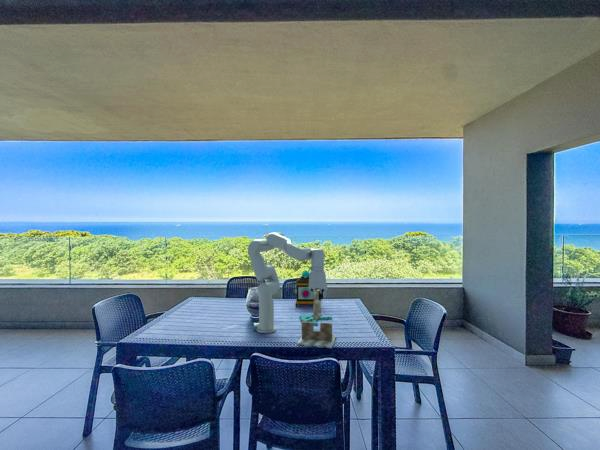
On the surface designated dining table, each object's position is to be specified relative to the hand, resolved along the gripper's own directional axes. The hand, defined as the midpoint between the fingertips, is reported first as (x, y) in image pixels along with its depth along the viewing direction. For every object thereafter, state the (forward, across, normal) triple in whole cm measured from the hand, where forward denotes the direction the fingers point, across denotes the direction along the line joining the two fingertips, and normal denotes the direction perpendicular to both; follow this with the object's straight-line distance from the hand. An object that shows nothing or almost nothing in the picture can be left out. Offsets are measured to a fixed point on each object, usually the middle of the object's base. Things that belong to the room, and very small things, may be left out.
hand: (317, 299), depth 194 cm
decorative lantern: (+24, -25, +80) cm, 87 cm away
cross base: (+24, 0, -2) cm, 24 cm away
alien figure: (+25, -11, +40) cm, 48 cm away
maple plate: (+11, 0, -1) cm, 11 cm away
